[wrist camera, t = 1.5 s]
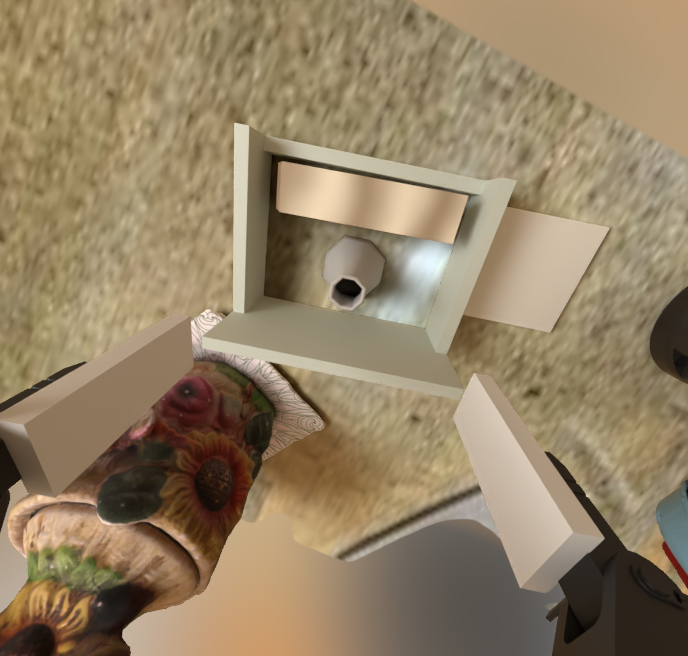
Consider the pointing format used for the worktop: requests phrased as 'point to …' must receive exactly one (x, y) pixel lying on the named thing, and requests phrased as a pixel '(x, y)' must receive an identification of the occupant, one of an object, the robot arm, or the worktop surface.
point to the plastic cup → (676, 564)
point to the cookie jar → (149, 507)
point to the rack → (340, 327)
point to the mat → (533, 268)
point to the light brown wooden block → (369, 202)
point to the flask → (352, 271)
